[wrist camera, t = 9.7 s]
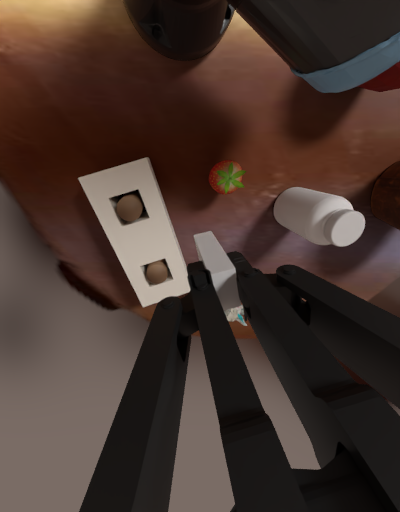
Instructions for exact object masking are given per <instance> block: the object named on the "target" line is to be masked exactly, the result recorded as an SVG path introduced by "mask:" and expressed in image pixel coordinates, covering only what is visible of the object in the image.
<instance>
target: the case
mask: <svg viewBox="0 0 400 512" xmlns="http://www.w3.org/2000/svg"><path fill="white" fill-rule="evenodd" d="M371 209H372V213H373V214H374V216H375V217H376V218H378V219H380V220H382V221H384V222H386V223H388V224H390V225H391V226H393V227H395V228H397V229H399V230H400V161H398V162H396V163H395V164H393V165H392V166H390V167H389V168H388V169H387V170H386V171H385V172H384V173H383V174H382V175H381V176H380V177H379V178H378V180H377V181H376V183H375V185H374V188H373V191H372V195H371Z"/></svg>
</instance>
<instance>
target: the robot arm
mask: <svg viewBox="0 0 400 512" xmlns="http://www.w3.org/2000/svg"><path fill="white" fill-rule="evenodd" d="M123 1H124V4H125V7H126V10H127V12H128V14H129V17H130V19H131V21H132V23H133V24H134V26H135V28H136V29H137V31H138V32H139V34H140V35H141V36H142V38H143V39H144V40H145V41H146V42H147V43H148V44H149V45H150V46H151V47H152V48H153V49H155V50H156V51H157V52H159V53H161V54H162V55H164V56H166V57H169V58H171V59H175V60H182V61H186V60H193V59H197V58H200V57H202V56H204V55H205V54H207V53H208V52H210V51H211V50H212V49H213V48H214V47H215V46H216V45H217V44H218V43H219V41H220V40H221V38H222V37H223V35H224V33H225V32H226V30H227V28H228V26H229V24H230V21H231V19H232V17H233V14H234V11H235V10H236V12H237V13H238V14H239V15H240V16H241V17H242V18H243V19H244V20H245V21H246V22H247V23H248V24H249V25H250V26H251V27H252V28H253V29H254V30H255V31H256V32H257V33H258V34H259V35H260V36H261V37H262V39H263V40H264V41H265V42H266V43H267V44H268V45H269V46H270V47H271V48H272V49H273V50H274V51H275V52H276V53H277V54H278V55H279V56H280V57H281V58H282V59H283V60H284V61H285V62H286V63H287V64H288V65H289V66H290V69H291V71H292V72H293V73H294V74H295V75H296V76H298V77H302V78H303V79H304V80H305V81H307V82H308V83H309V84H310V85H311V86H312V87H313V88H315V89H316V90H317V91H320V92H322V93H329V92H332V93H333V92H334V93H338V92H342V91H346V90H349V89H352V88H354V87H357V86H359V85H361V84H363V83H365V82H367V81H369V80H371V79H372V78H374V77H376V76H378V75H379V74H381V73H382V72H384V71H386V70H387V69H389V68H390V67H392V66H393V65H395V64H396V63H397V62H399V61H400V0H123ZM194 240H195V244H196V248H197V252H198V257H199V261H198V262H194V263H190V264H188V266H187V273H188V276H187V279H188V282H189V286H190V292H189V293H188V294H187V295H186V296H185V297H183V298H181V299H179V298H178V297H176V296H170V297H166V298H164V299H162V300H161V301H160V302H159V303H158V304H157V306H156V309H155V311H154V314H153V317H152V319H151V322H150V325H149V327H148V330H147V333H146V336H145V338H144V341H143V343H142V346H141V349H140V351H139V354H138V357H137V359H136V362H135V365H134V368H133V370H132V373H131V375H130V378H129V381H128V383H127V386H126V389H125V391H124V394H123V396H122V399H121V402H120V404H119V407H118V410H117V412H116V415H115V418H114V420H113V423H112V426H111V428H110V431H109V434H108V436H107V439H106V442H105V444H104V447H103V450H102V453H101V455H100V458H99V460H98V463H97V466H96V468H95V471H94V474H93V476H92V479H91V482H90V484H89V487H88V490H87V492H86V495H85V497H84V500H83V503H82V506H81V508H80V511H79V512H168V507H169V500H170V492H171V485H172V477H173V470H174V463H175V455H176V448H177V441H178V433H179V426H180V418H181V411H182V403H183V395H184V389H185V388H184V387H185V381H186V374H187V366H188V358H189V351H190V344H191V334H193V333H194V332H196V331H198V330H199V331H200V336H201V341H202V345H203V350H204V354H205V359H206V364H207V368H208V373H209V378H210V382H211V387H212V391H213V396H214V401H215V405H216V410H217V415H218V420H219V424H220V433H221V438H222V443H223V448H224V453H225V458H226V462H227V467H228V471H229V476H230V481H231V486H232V491H233V496H234V500H235V505H234V507H233V508H232V510H231V511H230V512H400V416H399V415H398V414H397V412H396V411H395V410H394V409H393V408H392V407H391V406H390V405H389V404H388V403H387V402H386V401H385V399H384V398H383V397H382V396H381V395H380V394H379V393H381V394H382V395H383V396H384V397H385V398H387V399H388V400H389V401H390V402H392V403H393V404H394V405H395V406H397V407H398V408H399V409H400V318H399V317H397V316H395V315H393V314H391V313H389V312H387V311H385V310H383V309H381V308H379V307H377V306H375V305H373V304H371V303H369V302H367V301H365V300H363V299H361V298H359V297H357V296H355V295H353V294H351V293H349V292H347V291H346V290H344V289H342V288H340V287H338V286H336V285H334V284H332V283H330V282H328V281H326V280H324V279H322V278H320V277H318V276H316V275H314V274H312V273H310V272H308V271H306V270H304V269H302V268H300V267H298V266H295V265H283V266H280V267H278V268H277V270H276V274H263V273H262V272H261V271H260V270H259V269H256V268H252V266H251V265H250V264H249V263H248V261H247V260H246V259H245V258H244V256H243V255H242V254H241V253H239V252H237V251H234V252H230V253H225V252H224V250H223V249H222V247H221V245H220V244H219V242H218V241H217V239H216V238H215V236H214V235H213V233H212V232H211V231H208V232H204V233H200V234H196V235H194ZM302 298H304V299H305V300H306V302H305V301H303V300H302ZM240 300H241V302H242V304H243V310H244V317H245V321H247V319H248V320H249V322H250V324H251V326H252V328H253V330H254V332H255V334H256V336H257V338H258V340H259V342H260V344H261V345H262V347H263V349H264V351H265V353H266V355H267V357H268V359H269V361H270V363H271V365H272V366H273V368H274V370H275V372H276V374H277V376H278V378H279V380H280V382H281V384H282V386H283V388H284V390H285V392H286V393H287V395H288V397H289V399H290V401H291V403H292V405H293V407H294V409H295V411H296V413H297V415H298V417H299V418H300V420H301V422H302V424H303V426H304V428H305V430H306V432H307V434H308V436H309V438H310V440H311V443H312V445H313V448H314V452H315V455H316V458H317V460H318V463H319V465H320V467H321V469H319V470H309V469H291V467H290V464H289V462H288V460H287V457H286V455H285V452H284V450H283V447H282V445H281V443H280V440H279V438H278V436H277V433H276V431H275V428H274V426H273V424H272V421H271V419H270V418H269V416H268V415H267V414H266V413H265V411H264V409H263V407H262V405H261V402H260V399H259V397H258V394H257V392H256V389H255V387H254V385H253V382H252V379H251V377H250V375H249V372H248V370H247V367H246V365H245V362H244V360H243V357H242V355H241V352H240V350H239V347H238V345H237V343H236V340H235V337H234V335H233V332H232V330H231V327H230V325H229V322H228V320H227V317H226V315H225V312H224V311H225V310H228V309H232V308H236V307H239V306H241V303H240ZM332 354H333V355H334V356H335V357H336V358H338V359H339V360H340V361H341V362H343V363H344V364H345V365H346V366H347V367H349V368H350V369H351V370H352V371H354V372H355V373H356V374H357V375H358V376H360V377H361V378H362V379H363V380H365V381H366V382H367V383H368V384H369V385H371V386H372V387H373V388H374V389H373V388H372V387H370V386H368V385H364V384H363V385H362V384H358V383H357V382H356V381H354V380H353V379H352V377H351V376H350V375H349V374H348V373H347V372H346V370H345V369H344V368H343V367H342V366H341V364H340V363H339V362H338V361H337V360H336V359H335V357H334V356H333V355H332ZM375 389H376V390H377V391H378V392H379V393H378V392H377V391H376V390H375Z"/></svg>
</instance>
